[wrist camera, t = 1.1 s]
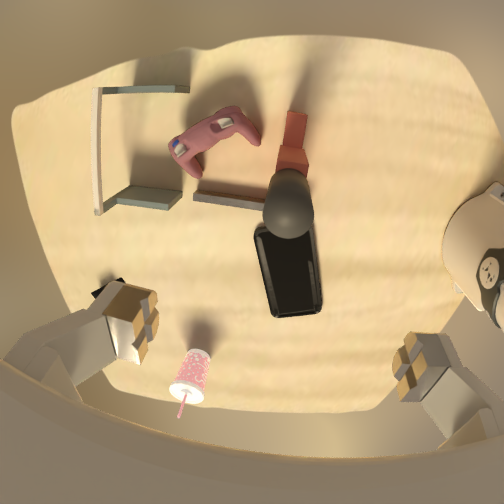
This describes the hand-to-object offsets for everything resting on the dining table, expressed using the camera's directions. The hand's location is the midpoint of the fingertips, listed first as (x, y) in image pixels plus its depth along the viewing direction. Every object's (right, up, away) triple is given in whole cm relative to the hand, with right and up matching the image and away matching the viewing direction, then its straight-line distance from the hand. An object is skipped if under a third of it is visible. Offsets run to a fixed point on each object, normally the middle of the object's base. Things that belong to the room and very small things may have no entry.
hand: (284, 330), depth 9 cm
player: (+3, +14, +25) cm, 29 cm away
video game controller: (-5, +16, +26) cm, 31 cm away
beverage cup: (-11, -17, +45) cm, 49 cm away
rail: (-2, +9, +29) cm, 30 cm away
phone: (+4, 0, +34) cm, 34 cm away
